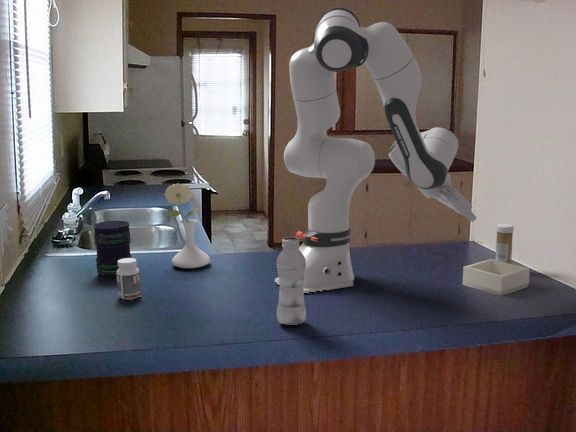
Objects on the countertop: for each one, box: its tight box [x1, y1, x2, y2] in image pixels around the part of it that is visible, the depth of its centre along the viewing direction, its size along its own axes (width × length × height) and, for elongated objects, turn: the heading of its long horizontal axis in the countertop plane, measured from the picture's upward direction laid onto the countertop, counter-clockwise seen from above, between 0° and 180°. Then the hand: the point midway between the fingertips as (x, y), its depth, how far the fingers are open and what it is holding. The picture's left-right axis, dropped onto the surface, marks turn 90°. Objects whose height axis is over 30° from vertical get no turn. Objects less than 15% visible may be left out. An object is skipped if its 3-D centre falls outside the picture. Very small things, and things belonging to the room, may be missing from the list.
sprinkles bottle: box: [494, 223, 514, 264], centre depth 190 cm, size 5×5×14 cm
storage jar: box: [93, 220, 133, 281], centre depth 190 cm, size 10×10×15 cm
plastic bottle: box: [276, 236, 307, 326], centre depth 151 cm, size 6×7×20 cm
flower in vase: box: [163, 182, 211, 269], centre depth 198 cm, size 13×11×25 cm
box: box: [462, 258, 531, 297], centre depth 178 cm, size 12×12×5 cm
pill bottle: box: [116, 257, 142, 299], centre depth 171 cm, size 6×6×10 cm
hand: (467, 215), depth 186 cm, fingers open, 8 cm apart
